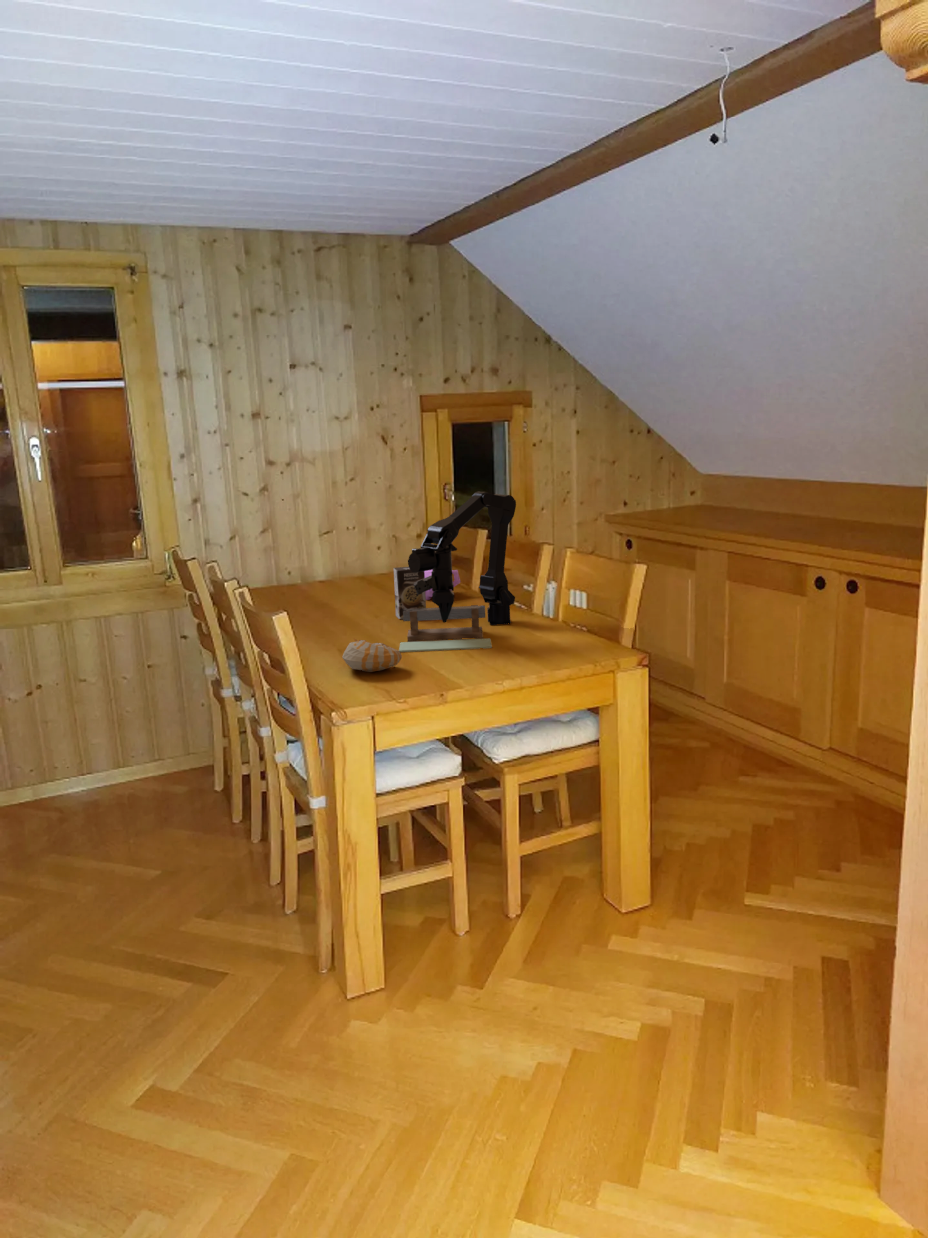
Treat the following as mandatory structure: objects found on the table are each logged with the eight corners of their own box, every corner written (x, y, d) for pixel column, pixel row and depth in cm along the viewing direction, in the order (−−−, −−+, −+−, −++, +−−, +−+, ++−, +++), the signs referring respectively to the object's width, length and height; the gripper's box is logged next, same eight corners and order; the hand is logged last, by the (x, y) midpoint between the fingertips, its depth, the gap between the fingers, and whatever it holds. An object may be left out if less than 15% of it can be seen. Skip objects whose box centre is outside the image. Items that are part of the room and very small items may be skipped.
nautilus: (335, 662, 256) (389, 659, 260) (348, 679, 235) (406, 675, 239) (334, 634, 254) (388, 631, 259) (347, 648, 234) (405, 644, 238)
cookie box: (399, 620, 299) (396, 570, 296) (395, 615, 305) (392, 567, 302) (427, 617, 302) (424, 568, 298) (422, 613, 308) (420, 564, 304)
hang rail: (485, 615, 277) (484, 605, 276) (485, 617, 274) (485, 607, 273) (403, 618, 276) (403, 609, 276) (403, 621, 274) (402, 611, 273)
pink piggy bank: (456, 602, 321) (455, 569, 318) (407, 603, 324) (405, 570, 321) (464, 592, 338) (463, 560, 335) (417, 592, 341) (415, 560, 338)
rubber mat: (490, 640, 270) (490, 638, 270) (491, 648, 262) (491, 646, 261) (400, 644, 270) (400, 642, 270) (398, 652, 261) (398, 650, 261)
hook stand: (481, 631, 280) (480, 603, 278) (483, 638, 273) (481, 609, 271) (408, 634, 280) (407, 607, 278) (407, 641, 272) (406, 613, 270)
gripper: (415, 563, 281) (418, 614, 284) (413, 574, 262) (416, 628, 266) (452, 561, 281) (454, 612, 284) (453, 573, 263) (455, 627, 266)
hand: (444, 619), depth 275 cm, fingers open, 6 cm apart
